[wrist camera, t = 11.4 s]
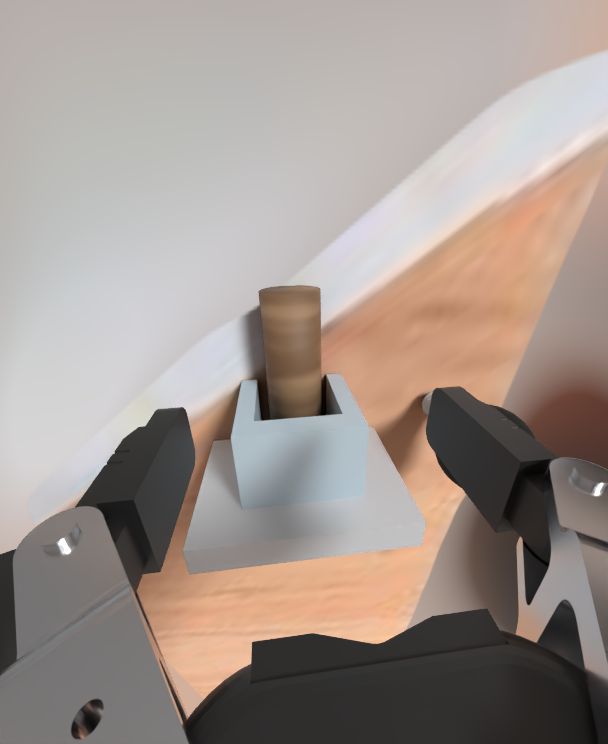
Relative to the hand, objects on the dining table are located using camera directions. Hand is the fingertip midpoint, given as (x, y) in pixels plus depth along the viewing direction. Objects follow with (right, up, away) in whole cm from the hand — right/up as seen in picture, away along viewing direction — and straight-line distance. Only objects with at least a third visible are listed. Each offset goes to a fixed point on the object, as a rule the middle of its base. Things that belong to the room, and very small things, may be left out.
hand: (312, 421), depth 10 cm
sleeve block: (-1, -1, +15) cm, 15 cm away
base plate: (-1, -4, +16) cm, 17 cm away
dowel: (-1, +3, +14) cm, 14 cm away
